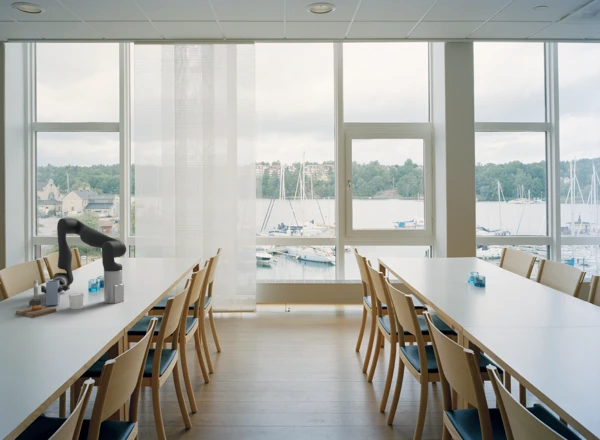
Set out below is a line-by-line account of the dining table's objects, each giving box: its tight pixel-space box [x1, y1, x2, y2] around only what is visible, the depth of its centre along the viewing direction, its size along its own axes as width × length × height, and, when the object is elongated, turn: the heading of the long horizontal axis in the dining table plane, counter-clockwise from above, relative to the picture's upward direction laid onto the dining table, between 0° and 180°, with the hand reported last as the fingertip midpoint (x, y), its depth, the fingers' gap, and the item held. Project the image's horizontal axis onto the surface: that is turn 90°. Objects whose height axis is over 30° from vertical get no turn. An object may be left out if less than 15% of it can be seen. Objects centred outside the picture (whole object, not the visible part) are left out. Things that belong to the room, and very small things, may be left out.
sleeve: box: [45, 279, 61, 307], centre depth 222 cm, size 5×5×12 cm
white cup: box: [68, 292, 85, 310], centre depth 217 cm, size 7×7×7 cm
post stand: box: [15, 279, 58, 318], centre depth 207 cm, size 14×11×16 cm
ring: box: [28, 297, 44, 306], centre depth 207 cm, size 5×5×2 cm
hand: (52, 291), depth 219 cm, fingers open, 5 cm apart
